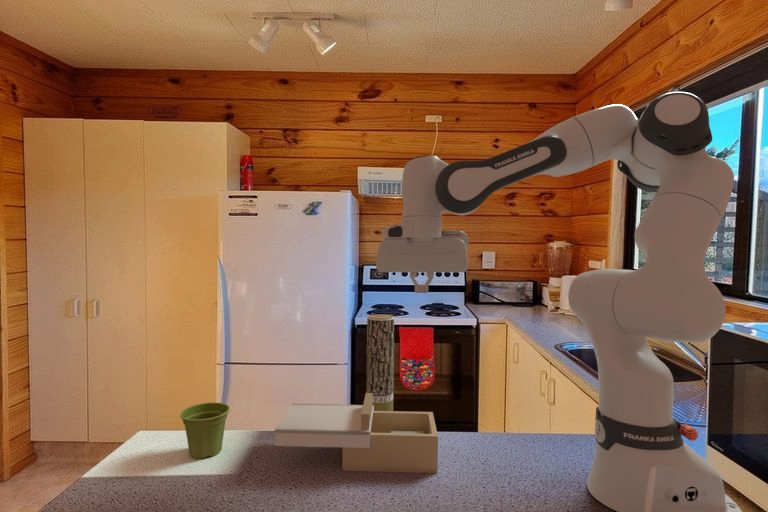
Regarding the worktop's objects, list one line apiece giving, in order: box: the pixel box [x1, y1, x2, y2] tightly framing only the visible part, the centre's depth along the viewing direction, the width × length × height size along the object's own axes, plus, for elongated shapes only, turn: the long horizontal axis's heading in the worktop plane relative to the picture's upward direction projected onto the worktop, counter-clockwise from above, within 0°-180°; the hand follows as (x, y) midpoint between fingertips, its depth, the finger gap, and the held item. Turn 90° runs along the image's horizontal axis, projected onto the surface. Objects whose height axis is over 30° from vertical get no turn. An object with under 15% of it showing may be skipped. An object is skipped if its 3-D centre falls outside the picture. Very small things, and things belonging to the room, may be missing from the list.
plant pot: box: [179, 401, 231, 460], centre depth 89 cm, size 9×9×9 cm
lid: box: [274, 392, 374, 448], centre depth 88 cm, size 18×14×6 cm
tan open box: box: [341, 410, 439, 474], centre depth 88 cm, size 18×12×7 cm, turn 88°
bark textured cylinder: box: [366, 313, 395, 411], centre depth 110 cm, size 7×7×25 cm
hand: (421, 292), depth 97 cm, fingers closed
